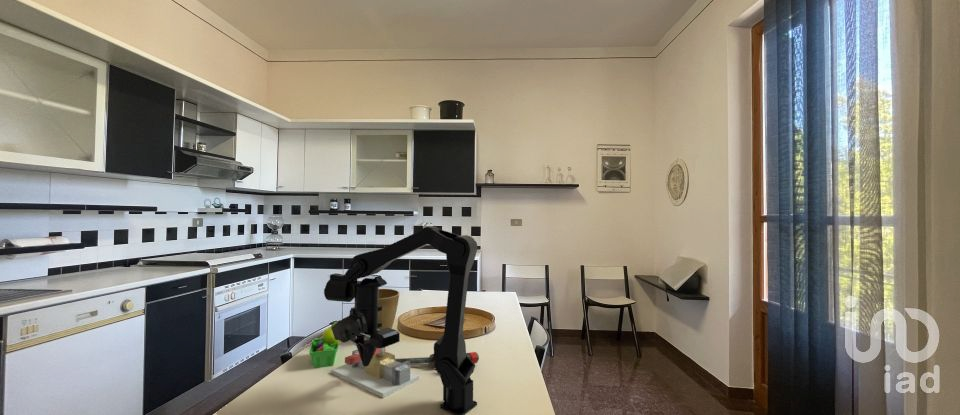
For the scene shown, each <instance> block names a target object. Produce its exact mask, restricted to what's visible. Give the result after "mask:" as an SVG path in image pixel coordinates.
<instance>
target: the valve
mask: <svg viewBox="0 0 960 415" xmlns="http://www.w3.org/2000/svg"><path fill="white" fill-rule="evenodd" d="M466 355H467V356H468V357H469V358H470V360H471V361H472V362H473V363H474V364H475V365H476V364H477V363H478V362H479V359H480V357H479V353H478V352H476V351H472V352H471V351H470V352H466ZM433 357H434V353H433V354H430V355H429V356H425V357H424V356H423V357H408V358H395V361H397V362H400V363H403V362H405V361H407V360H408V361H410V365H418V364H419V365H420V364H429V366H430V367H432V368H434V369H435V367H434V362H435V361H433V362H432V359H433Z"/></svg>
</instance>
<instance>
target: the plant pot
mask: <svg viewBox="0 0 960 415" xmlns="http://www.w3.org/2000/svg"><path fill="white" fill-rule="evenodd" d="M399 299H400V291H399V290H396V289H392V288H379V297H378V306H382V311H378V322H381V323H382V327H379V328H377V329H379V330H382V329H385V328H391V329H393V325H394V322H395V320H396V314H397V310H398V304H399Z"/></svg>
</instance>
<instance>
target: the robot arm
mask: <svg viewBox="0 0 960 415" xmlns="http://www.w3.org/2000/svg"><path fill="white" fill-rule="evenodd" d="M428 245H429V246H430V247H432V248H434V249H435V250H437V251H438V252H441V253H443V254H444V255H445V254H446V265H447V269H448V272H449V280H448V290H447V300H446V301H447V302H446V310H445V317H444V318H445V320H444V327H443V328H444V329H443V335H441V337H439V338H438V339H437V341H436V342H434V344H433V354H434V357H433V359H432V362H433V361H435V362H434V367H435V368H434V367H433V368H434V370H435V372H437V373H438V375H439V377H440V380H441V384H442V390H443V391H442V400H443V402H442V403H440V404H439V408H440V409H442V410H444V411H447V412H448V413H451V414H454V415H465V414H467V413H468V412H469V411H470V410H472V409H474V407H476V406H478V402H477V401H476V400H474V380H473V379H471V376H472V374H473V373H474V372H475V368H476V363H475V364H474V363H473V362H472V361H471V360H470V358H469V357H468V356H467V355H466V353H467V345H466V341H465V337H464V325H465V313H466V302H467V295H468V294H467V293H468V285H469V276H470V272H471V270H472V267H473V264H474V263H475V259H476V255H477V252H478V243H477V242H476V239H474V237H472V236H471V235H469V234H468V235H466V234H465V235H463V234H462V235H458V234H457V233H454V232H450V231H448V230H443V229H441V228H439V227H437V226H435V225H431V226H423V227H422V229H421V230H419V231H416V232H414V233H413V234H410V235H408V236H406V237H404V238H401V239H400V240H397V241H396V242H393V243H391V244H389V245H387V246H384V247H383V248H380V249H375V250H371V251H370V250H369V251H367V252H363V253H359V254H355V255H354V256H353V257H352V259H351V263H350V266H349V267H348V269H347V270H346V271H345V273H344V274H341V273H338V272H337V273H332V274H330V275H329V279H328V281H327V282H326V285H325V288H323V294H324V298H325V299H326V300H327V301H331V302H332V301H333V302H342V303H350V302H352V301H353V300H354V305H353V306H354V307H350V310H349V315H348V316H346V317H344V318H342V319H340V320H338V321H336V322H337V323H336V324H335V325H333V326H332V325H331V326H332V327H331V326H330V327H331V329H332V332H333V335H334V338H335V340H339V342H341V343H343V344H345V343H348V342H349V341H350V342H351V343H352V344H354V345H355V346H356V350H358V352H359V355H360V358H361V361H362V364H363V366H365V367H366V366H368V365H369V363H370V361H371V359H372V357H373V355H374V353H375V351H376V349H377V348H384V347H385V348H387V347H389V346H392V345H394V344H397V343H400V342H401V340H400V336H401V335H400V332H399V331H398V330H397V329H394V328H392V329H391V328H385V329H382V330H379V329H377V328H379V327H382V323H381V322H378V311H382V306H378V297H379V289H380V288H381V287H383V286H386V285H387V284H388V282H387V281H386V280H385V279H384V278H383V277H382V276H381V275H377V276H374V277H373V278H371V277H369V276H373V275H376V274H378V273H380V272H381V271H383V270H384V269H386V268H387V267H388V266H389V265H390V264H391V263H393V262H394V261H396V260H398V259H401V258H402V257H404V256H406V255H409V254H411V253H413V252H415V251H418V250H420V249H422V248H424V247H426V246H428ZM359 279H361V280H359Z"/></svg>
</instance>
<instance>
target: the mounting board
mask: <svg viewBox="0 0 960 415" xmlns="http://www.w3.org/2000/svg"><path fill="white" fill-rule="evenodd" d="M331 374H333V375H335V376H337V377H339V378H341V379H343V380H345V381H347V382H349V383H351V384H354V385H356V387H360V388H362V389H364V390H366V391H368V392H370V393H372V394H374V395H377V396H379V397H381V398H383V399H384V398H386V397H388V396H390V395H392V394H394V393H395V392H398V391H399V389H400V390H401V389H403V388H405V387H407V386H409V385H411V384H413V383H415V382H417V381H418V380H420V375H419V374H416V373H413V372H411V371H410V381H408V382H406V383H404V384H402V385H398V384H397V385H392V382H391V381H388V380H386V379H384V378H380V379H379V378H376V377H374V376H372V375H369V374H367V373H365V370H363V369H360V368H358V367H355V368H353V367H352V365H348V364H346V363H344V364H343V365H340V366H338V367H334V368H333V369H331Z"/></svg>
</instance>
